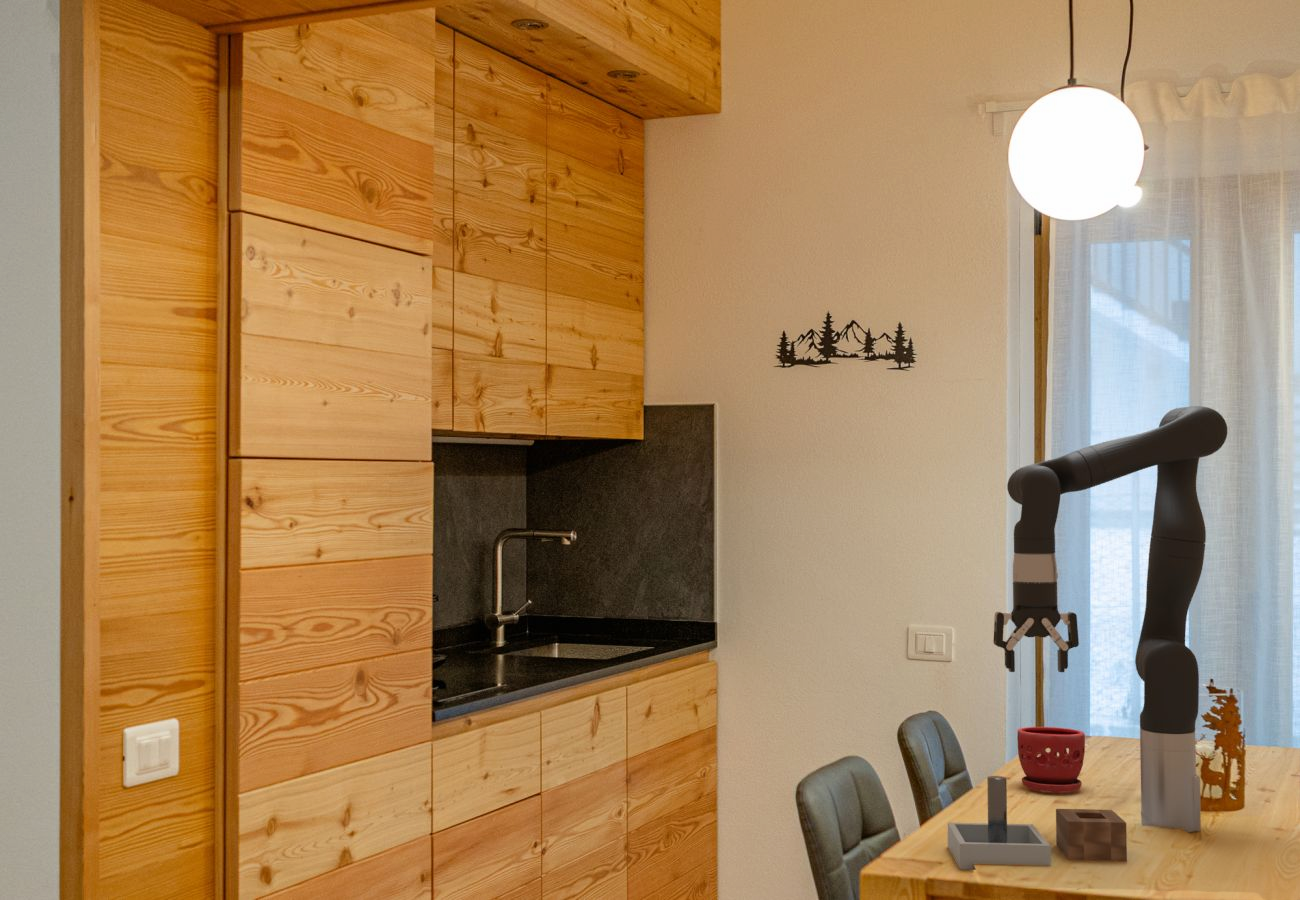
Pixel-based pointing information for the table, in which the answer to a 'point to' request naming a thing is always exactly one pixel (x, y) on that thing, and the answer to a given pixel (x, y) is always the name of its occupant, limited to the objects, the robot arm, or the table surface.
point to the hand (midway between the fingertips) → (1036, 671)
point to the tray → (997, 846)
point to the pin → (997, 809)
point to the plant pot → (1051, 758)
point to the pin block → (1091, 835)
